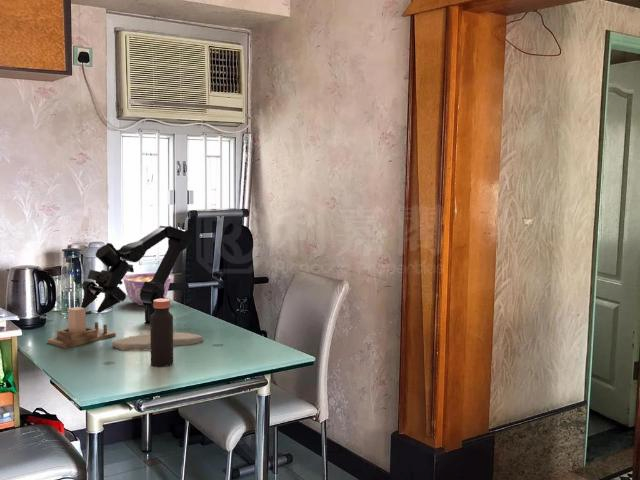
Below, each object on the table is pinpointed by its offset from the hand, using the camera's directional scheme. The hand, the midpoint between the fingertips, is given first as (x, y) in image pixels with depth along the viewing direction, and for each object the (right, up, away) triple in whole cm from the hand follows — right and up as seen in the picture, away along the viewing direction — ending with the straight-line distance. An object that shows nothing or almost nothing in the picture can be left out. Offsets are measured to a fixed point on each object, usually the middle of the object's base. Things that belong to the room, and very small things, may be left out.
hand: (89, 310), depth 233 cm
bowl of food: (+5, -3, +57) cm, 57 cm away
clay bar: (-3, -9, -3) cm, 10 cm away
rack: (-2, -10, -1) cm, 10 cm away
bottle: (+31, -14, -27) cm, 44 cm away
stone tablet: (+24, -11, -2) cm, 26 cm away
